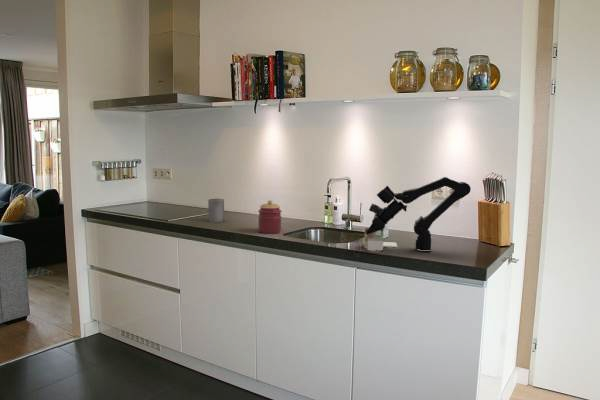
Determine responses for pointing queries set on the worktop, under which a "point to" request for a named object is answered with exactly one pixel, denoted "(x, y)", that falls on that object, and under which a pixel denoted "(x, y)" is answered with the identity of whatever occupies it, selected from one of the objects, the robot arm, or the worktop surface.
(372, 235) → the oak block
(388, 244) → the display pad
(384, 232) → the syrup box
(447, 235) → the worktop surface
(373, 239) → the screen
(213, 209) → the pillar candle
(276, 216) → the canister
